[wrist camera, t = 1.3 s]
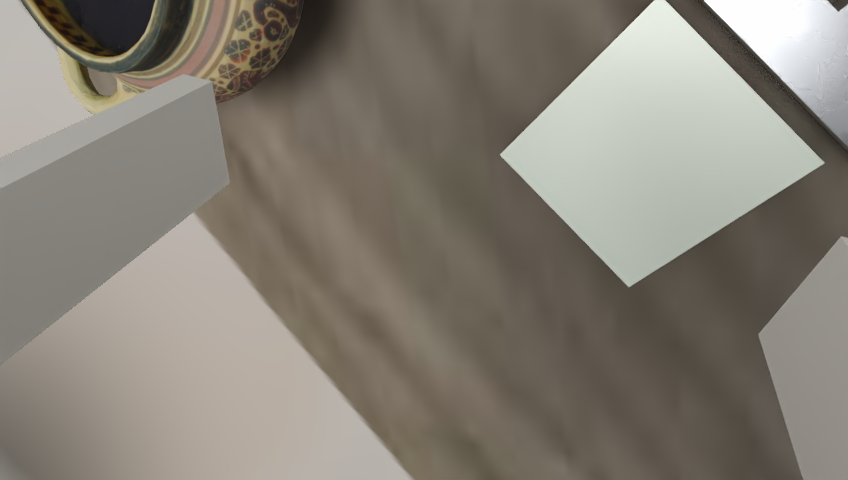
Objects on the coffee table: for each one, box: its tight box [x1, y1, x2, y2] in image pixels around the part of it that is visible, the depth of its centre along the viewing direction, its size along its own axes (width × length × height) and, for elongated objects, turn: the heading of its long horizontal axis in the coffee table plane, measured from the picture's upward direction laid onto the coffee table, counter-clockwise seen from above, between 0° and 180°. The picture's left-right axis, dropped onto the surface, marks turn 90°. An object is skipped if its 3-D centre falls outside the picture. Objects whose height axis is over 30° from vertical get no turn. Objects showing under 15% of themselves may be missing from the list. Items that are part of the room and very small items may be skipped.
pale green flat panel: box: [500, 0, 824, 287], centre depth 28 cm, size 12×12×1 cm
